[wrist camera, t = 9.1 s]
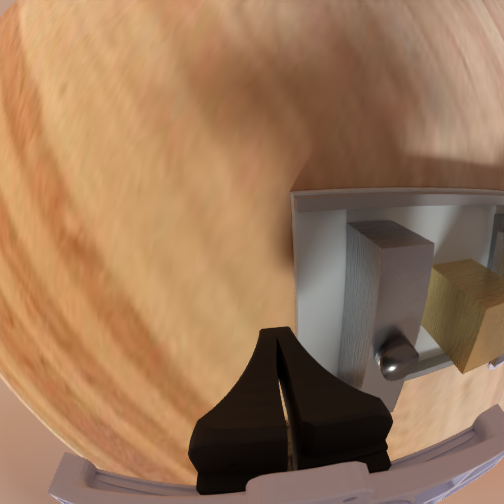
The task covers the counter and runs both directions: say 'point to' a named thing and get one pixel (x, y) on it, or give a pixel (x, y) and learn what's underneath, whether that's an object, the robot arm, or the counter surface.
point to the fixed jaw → (497, 258)
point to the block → (466, 312)
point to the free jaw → (382, 306)
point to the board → (375, 209)
